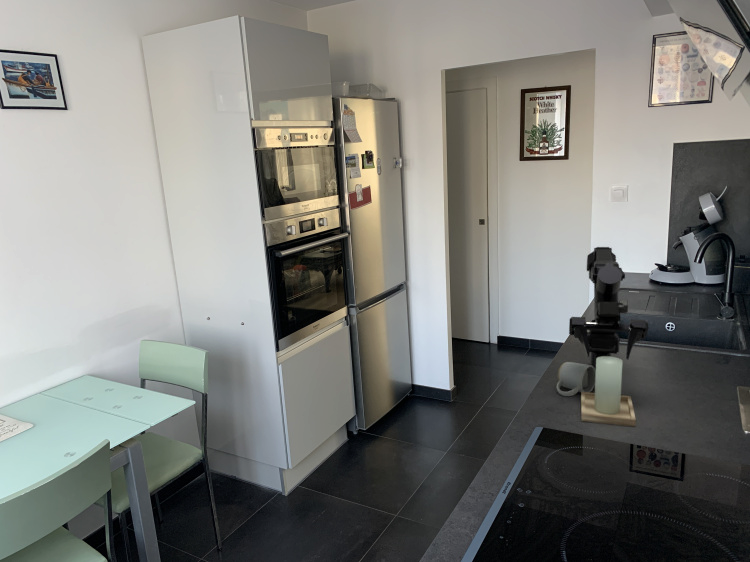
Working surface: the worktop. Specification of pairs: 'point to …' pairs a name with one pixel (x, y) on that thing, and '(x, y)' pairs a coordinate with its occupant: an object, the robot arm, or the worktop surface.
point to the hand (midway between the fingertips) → (607, 357)
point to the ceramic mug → (576, 378)
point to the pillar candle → (608, 385)
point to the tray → (621, 418)
